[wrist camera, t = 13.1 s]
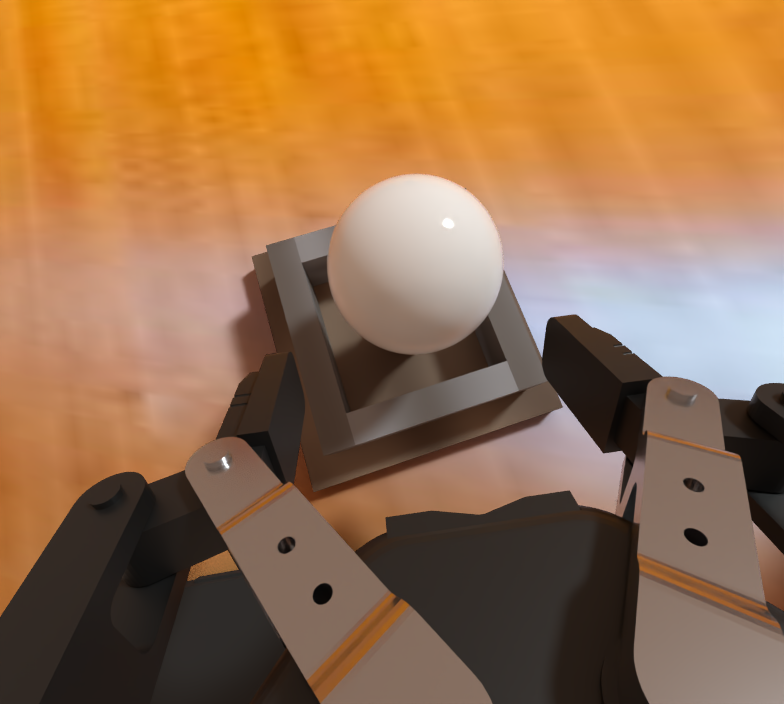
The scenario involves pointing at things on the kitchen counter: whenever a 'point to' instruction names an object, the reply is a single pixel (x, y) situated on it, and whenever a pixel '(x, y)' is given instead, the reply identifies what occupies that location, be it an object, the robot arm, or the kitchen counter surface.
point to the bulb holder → (391, 373)
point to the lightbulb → (415, 264)
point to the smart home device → (217, 645)
